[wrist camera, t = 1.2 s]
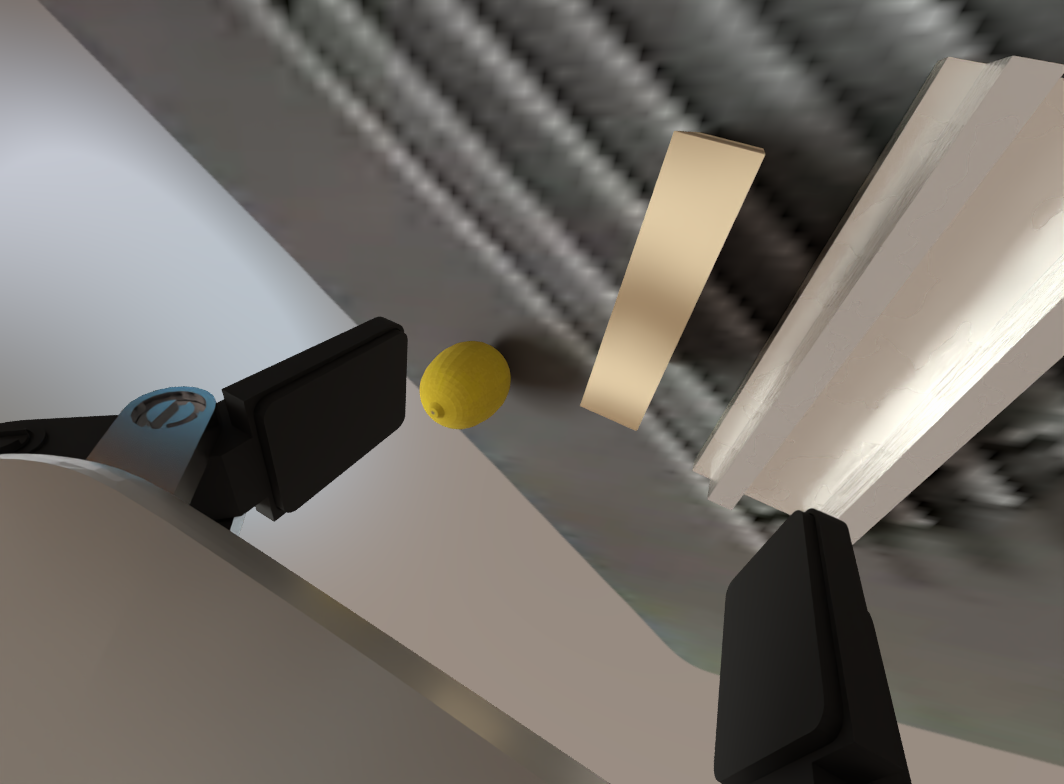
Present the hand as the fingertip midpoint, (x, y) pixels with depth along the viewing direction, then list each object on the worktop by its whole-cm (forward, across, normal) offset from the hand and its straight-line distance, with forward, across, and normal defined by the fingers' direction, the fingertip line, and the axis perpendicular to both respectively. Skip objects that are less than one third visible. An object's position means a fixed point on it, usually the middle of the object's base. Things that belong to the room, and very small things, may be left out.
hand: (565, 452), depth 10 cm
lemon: (+18, +10, +11) cm, 23 cm away
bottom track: (+18, -11, +1) cm, 21 cm away
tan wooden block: (+18, 0, 0) cm, 18 cm away
